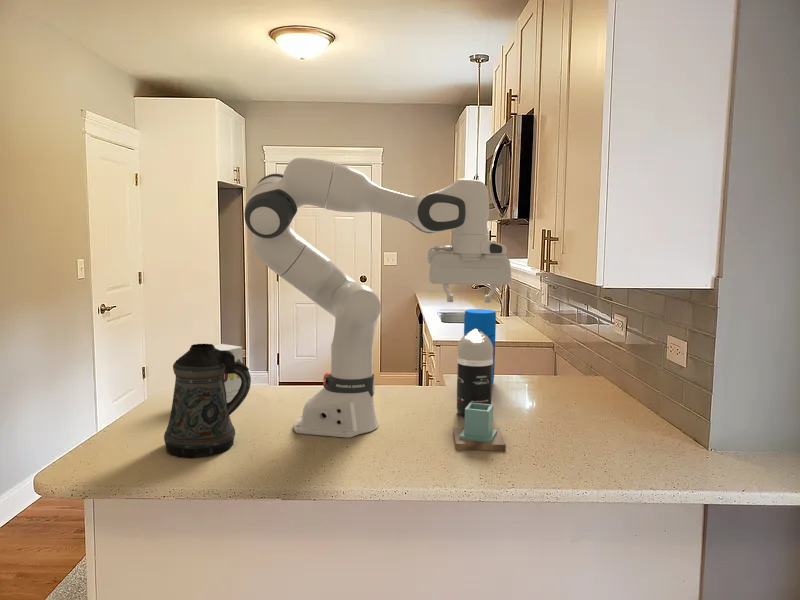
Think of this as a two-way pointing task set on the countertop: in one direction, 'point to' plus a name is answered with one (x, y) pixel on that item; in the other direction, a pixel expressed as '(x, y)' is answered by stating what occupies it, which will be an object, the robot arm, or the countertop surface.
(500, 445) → the walnut post base
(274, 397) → the countertop surface
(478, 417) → the flanged sleeve
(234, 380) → the supplement box
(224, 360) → the beer stein
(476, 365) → the black white cylinder
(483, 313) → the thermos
